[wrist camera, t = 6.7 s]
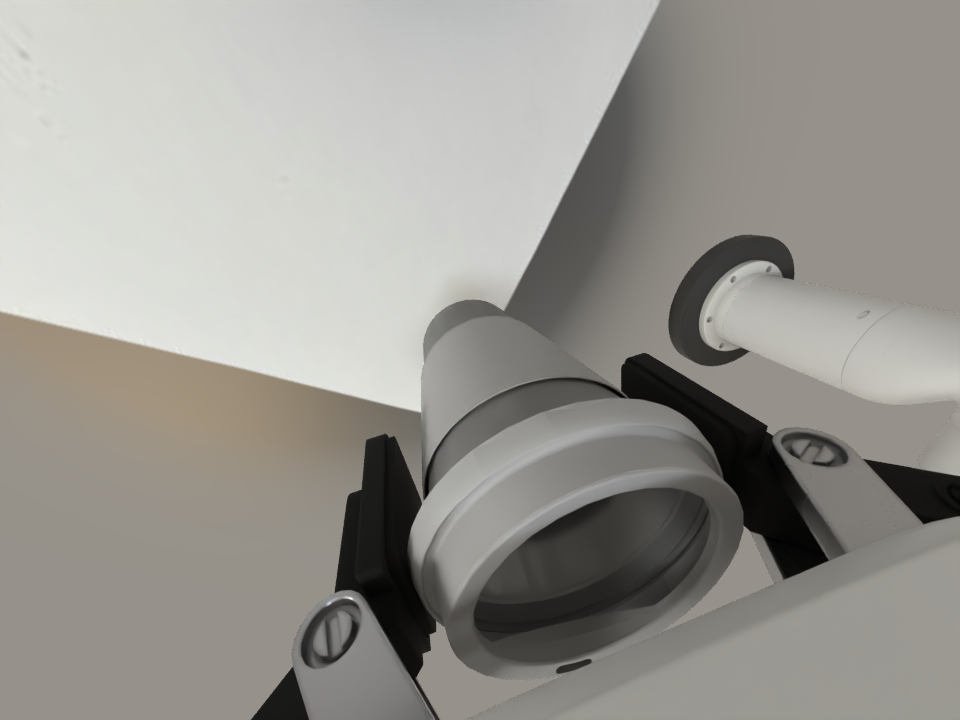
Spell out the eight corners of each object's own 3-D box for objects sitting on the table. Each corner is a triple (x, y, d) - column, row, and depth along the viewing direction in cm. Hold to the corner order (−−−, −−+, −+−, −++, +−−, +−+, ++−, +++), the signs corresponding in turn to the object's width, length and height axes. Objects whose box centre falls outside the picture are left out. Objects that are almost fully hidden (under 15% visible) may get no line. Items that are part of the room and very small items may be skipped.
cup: (395, 404, 17) (406, 729, 7) (397, 272, 15) (419, 467, 4) (525, 400, 19) (694, 648, 9) (548, 282, 16) (836, 433, 6)
